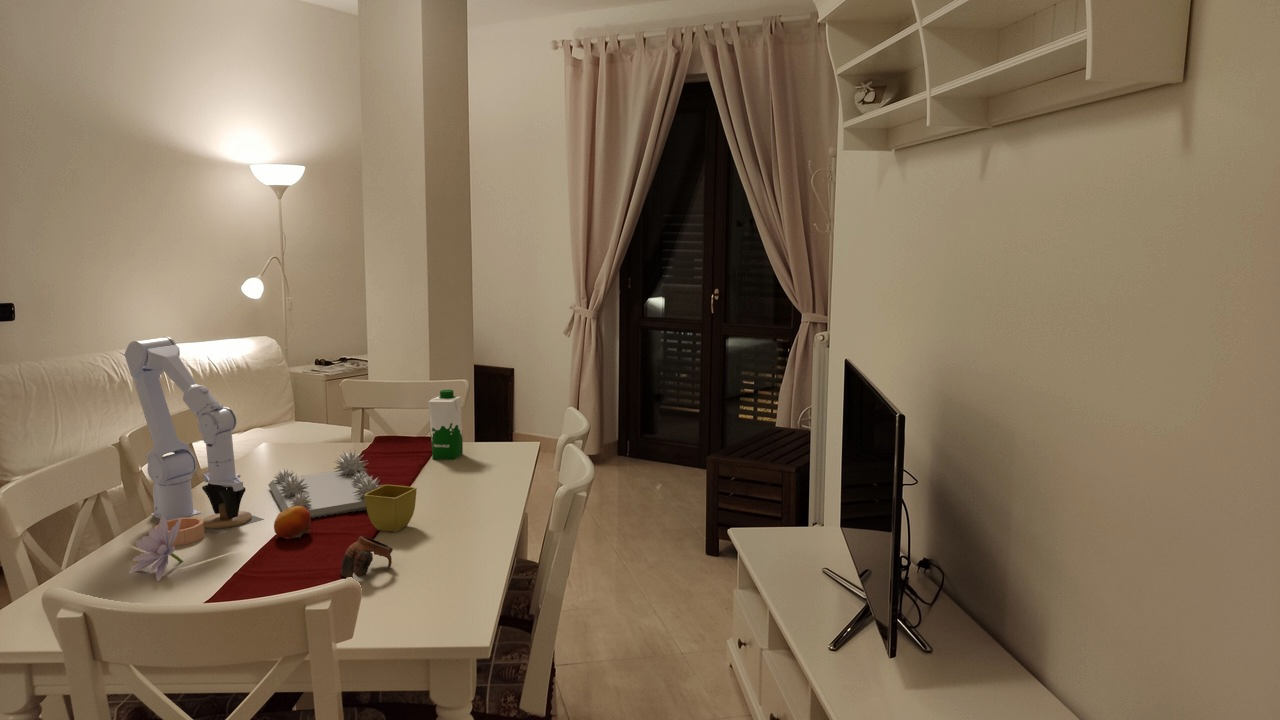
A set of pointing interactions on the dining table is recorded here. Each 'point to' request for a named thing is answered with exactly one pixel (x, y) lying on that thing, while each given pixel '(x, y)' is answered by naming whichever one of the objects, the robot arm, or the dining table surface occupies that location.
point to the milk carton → (446, 426)
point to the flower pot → (390, 506)
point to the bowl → (187, 530)
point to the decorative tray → (326, 488)
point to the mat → (254, 519)
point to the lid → (226, 519)
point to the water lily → (157, 548)
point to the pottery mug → (363, 556)
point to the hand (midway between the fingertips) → (226, 515)
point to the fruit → (292, 522)
